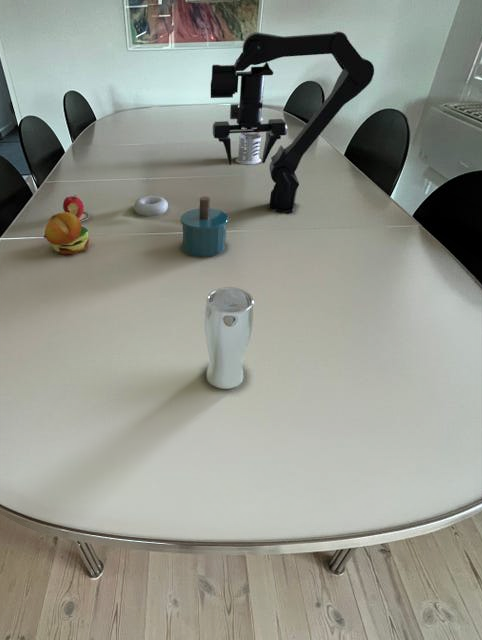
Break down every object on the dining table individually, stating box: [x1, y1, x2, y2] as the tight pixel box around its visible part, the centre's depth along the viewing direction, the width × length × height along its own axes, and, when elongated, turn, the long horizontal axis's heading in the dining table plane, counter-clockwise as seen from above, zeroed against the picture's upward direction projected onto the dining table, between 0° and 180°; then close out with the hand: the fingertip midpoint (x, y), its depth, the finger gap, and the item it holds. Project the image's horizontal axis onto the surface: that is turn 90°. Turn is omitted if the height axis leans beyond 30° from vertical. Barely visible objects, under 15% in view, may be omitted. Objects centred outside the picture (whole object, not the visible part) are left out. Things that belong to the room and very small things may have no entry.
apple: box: [62, 194, 91, 223], centre depth 115 cm, size 8×8×6 cm
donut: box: [133, 195, 169, 217], centre depth 119 cm, size 10×4×10 cm
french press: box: [235, 117, 264, 165], centre depth 146 cm, size 10×12×25 cm
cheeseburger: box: [43, 211, 90, 255], centre depth 101 cm, size 10×11×10 cm
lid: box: [180, 196, 229, 230], centre depth 96 cm, size 11×11×6 cm
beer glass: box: [204, 286, 255, 390], centre depth 62 cm, size 7×7×15 cm
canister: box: [181, 223, 227, 258], centre depth 99 cm, size 10×10×7 cm
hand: (246, 163), depth 112 cm, fingers open, 9 cm apart
